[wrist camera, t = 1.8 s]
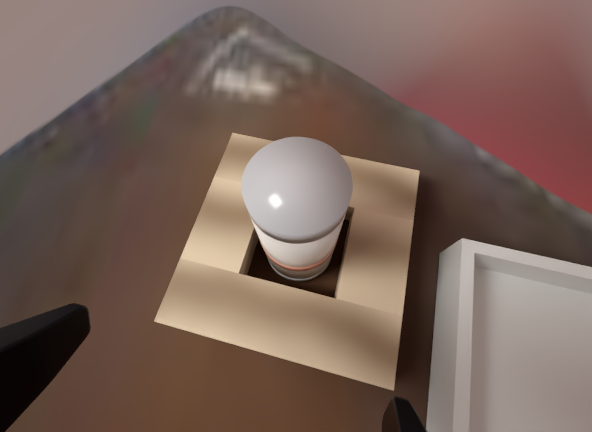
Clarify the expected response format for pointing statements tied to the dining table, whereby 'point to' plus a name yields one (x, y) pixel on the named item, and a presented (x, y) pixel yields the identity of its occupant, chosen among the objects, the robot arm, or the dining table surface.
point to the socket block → (291, 301)
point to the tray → (510, 342)
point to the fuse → (297, 204)
